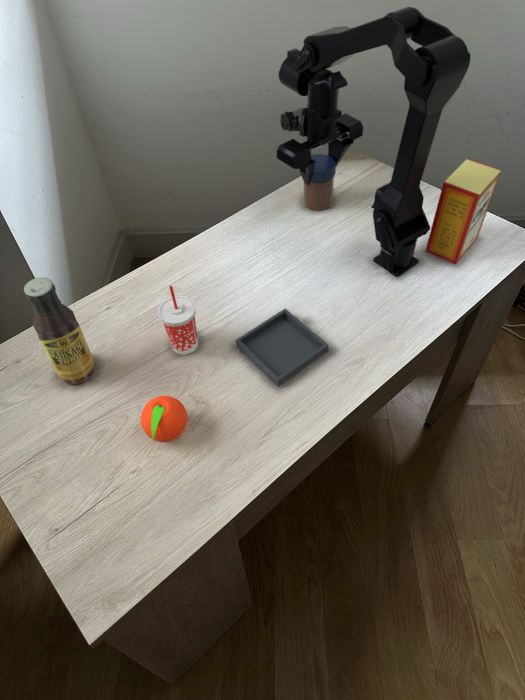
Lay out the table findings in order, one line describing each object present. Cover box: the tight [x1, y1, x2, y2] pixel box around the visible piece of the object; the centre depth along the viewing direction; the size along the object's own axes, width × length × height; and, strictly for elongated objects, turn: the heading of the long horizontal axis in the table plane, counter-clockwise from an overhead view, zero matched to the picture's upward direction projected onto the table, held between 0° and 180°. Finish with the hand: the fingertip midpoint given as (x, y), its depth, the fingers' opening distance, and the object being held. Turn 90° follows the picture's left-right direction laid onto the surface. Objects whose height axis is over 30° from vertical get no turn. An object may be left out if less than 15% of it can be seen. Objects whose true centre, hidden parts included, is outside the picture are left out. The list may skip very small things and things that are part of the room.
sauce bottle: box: [23, 276, 95, 385], centre depth 80 cm, size 7×6×20 cm
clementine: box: [140, 395, 188, 443], centre depth 77 cm, size 8×7×7 cm
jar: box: [302, 176, 335, 212], centre depth 111 cm, size 6×6×9 cm
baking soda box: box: [425, 158, 503, 265], centre depth 98 cm, size 10×6×16 cm
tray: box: [235, 308, 329, 388], centre depth 89 cm, size 11×11×2 cm
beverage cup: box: [157, 285, 199, 355], centre depth 85 cm, size 6×6×14 cm
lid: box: [311, 153, 337, 182], centre depth 108 cm, size 7×7×2 cm
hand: (318, 177), depth 110 cm, fingers closed on lid, 6 cm apart
